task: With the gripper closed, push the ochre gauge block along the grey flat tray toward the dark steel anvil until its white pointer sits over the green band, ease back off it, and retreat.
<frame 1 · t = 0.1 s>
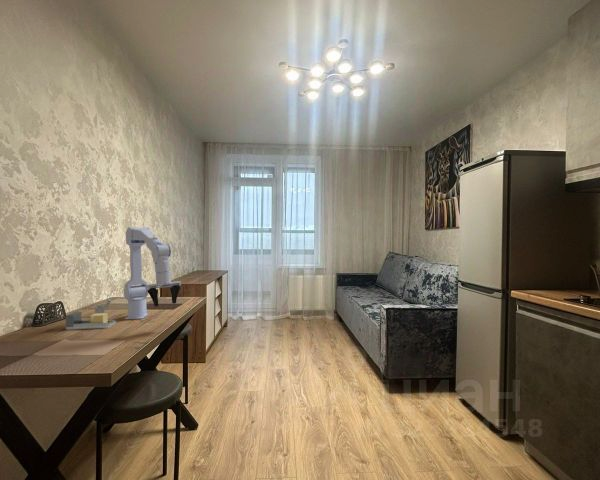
hand: (165, 304, 134), 11 cm above the table, tool pointing down, fingers open, 7 cm apart
gauge block: (99, 319, 139), point 3 cm above the table, slide at 0.0 cm
grey flat tray: (92, 326, 140), on the table
lighter: (103, 315, 159), on the table
anvil: (73, 327, 138), resting on grey flat tray
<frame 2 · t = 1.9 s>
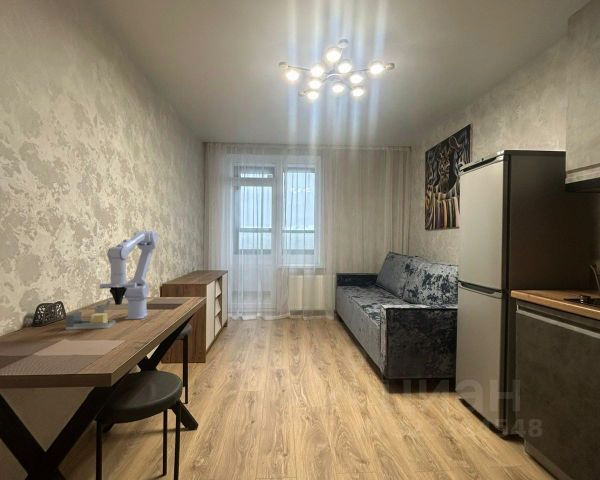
hand: (118, 304, 140), 9 cm above the table, tool pointing down, fingers closed
nothing on the table moved.
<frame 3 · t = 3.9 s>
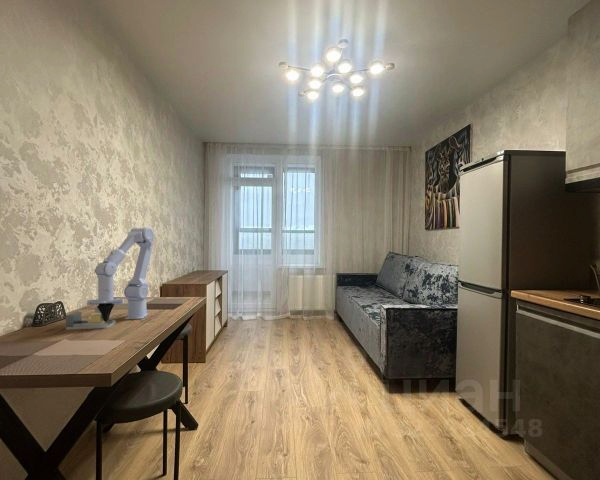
hand: (106, 320, 140), 2 cm above the table, tool pointing down, fingers closed
gauge block: (96, 319, 139), point 3 cm above the table, slide at 1.1 cm, touching gripper
everything else where it was.
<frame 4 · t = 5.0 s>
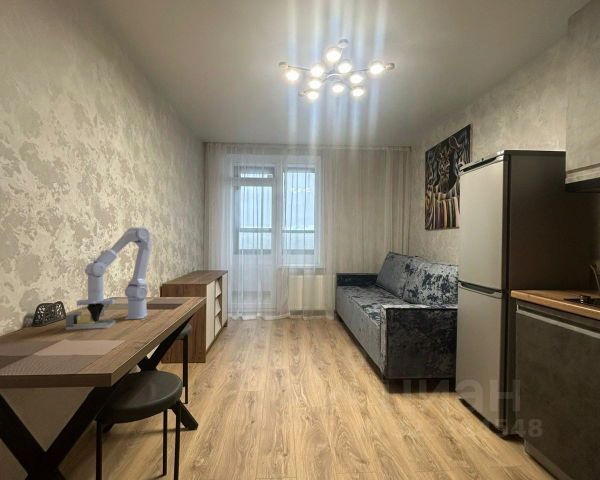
hand: (95, 321, 139), 2 cm above the table, tool pointing down, fingers closed
gauge block: (86, 319, 138), point 3 cm above the table, slide at 5.3 cm, touching gripper
everything else where it was.
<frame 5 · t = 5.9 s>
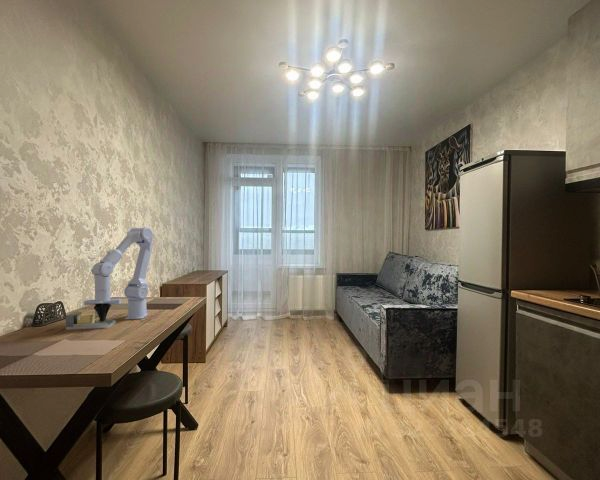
hand: (102, 320, 140), 2 cm above the table, tool pointing down, fingers closed
gauge block: (86, 319, 138), point 3 cm above the table, slide at 5.3 cm
everything else where it was.
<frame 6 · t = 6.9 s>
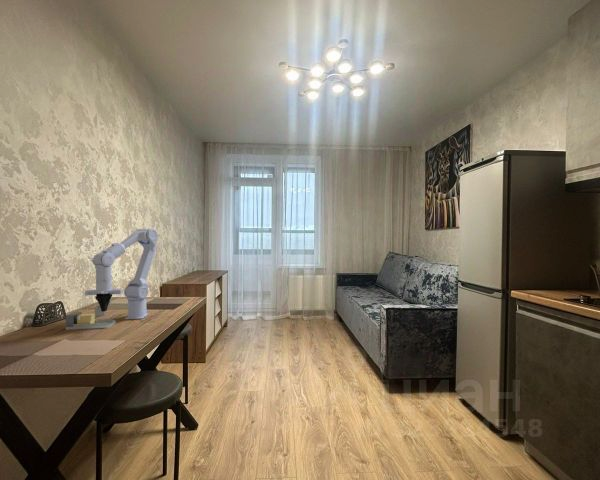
hand: (104, 311, 140), 7 cm above the table, tool pointing down, fingers closed
nothing on the table moved.
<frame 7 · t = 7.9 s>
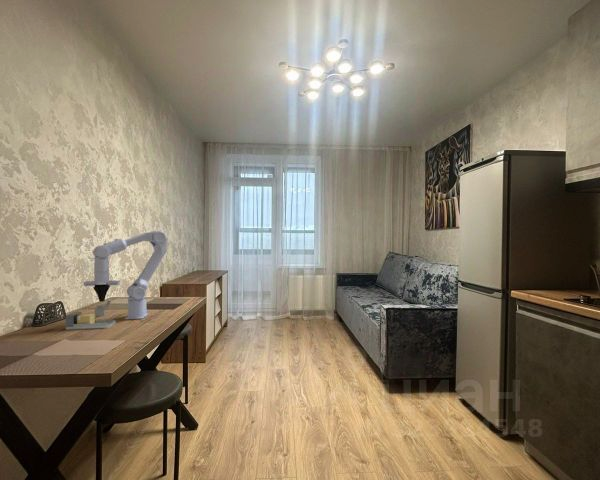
hand: (102, 301, 145), 10 cm above the table, tool pointing down, fingers closed
nothing on the table moved.
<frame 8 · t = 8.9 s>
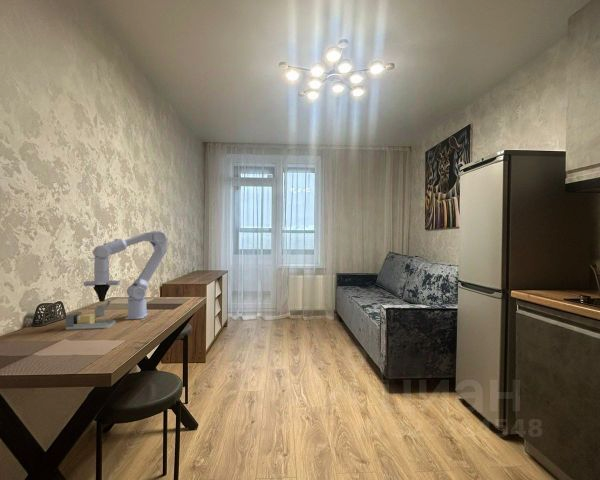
hand: (102, 301, 145), 10 cm above the table, tool pointing down, fingers closed
nothing on the table moved.
at the end: gauge block slide at 5.3 cm; the gripper is holding nothing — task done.
